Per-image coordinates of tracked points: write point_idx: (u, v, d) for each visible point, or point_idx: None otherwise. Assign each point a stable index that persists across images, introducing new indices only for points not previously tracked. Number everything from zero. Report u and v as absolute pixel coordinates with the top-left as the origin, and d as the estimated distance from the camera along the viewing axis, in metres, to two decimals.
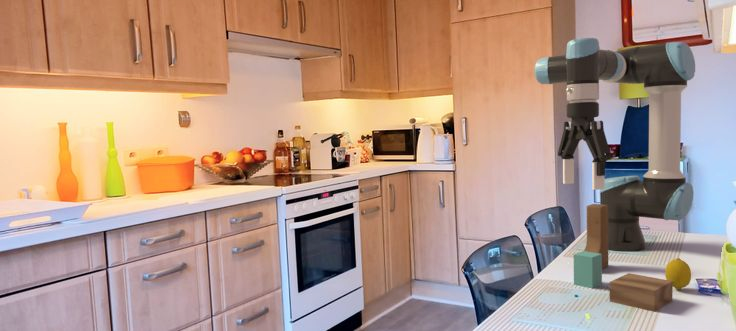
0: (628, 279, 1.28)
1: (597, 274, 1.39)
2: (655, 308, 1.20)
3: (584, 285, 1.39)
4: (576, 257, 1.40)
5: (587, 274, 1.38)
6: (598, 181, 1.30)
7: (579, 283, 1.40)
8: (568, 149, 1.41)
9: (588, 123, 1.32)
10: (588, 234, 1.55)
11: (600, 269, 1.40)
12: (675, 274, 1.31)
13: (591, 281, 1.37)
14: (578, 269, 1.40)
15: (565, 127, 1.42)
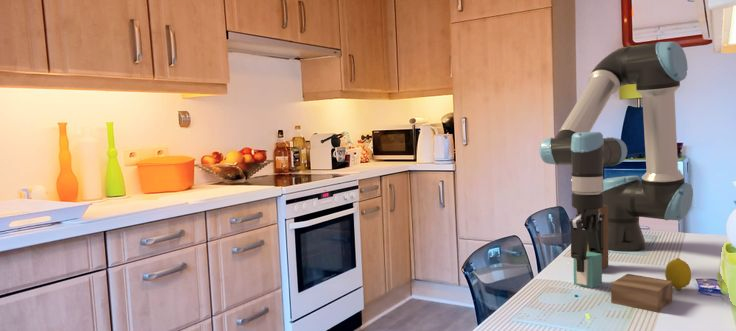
0: (628, 279, 1.28)
1: (597, 273, 1.39)
2: (658, 309, 1.20)
3: (584, 285, 1.39)
4: None
5: None
6: (580, 276, 1.39)
7: None
8: (589, 241, 1.42)
9: (576, 216, 1.37)
10: None
11: (600, 269, 1.40)
12: (675, 274, 1.31)
13: (591, 281, 1.37)
14: None
15: None
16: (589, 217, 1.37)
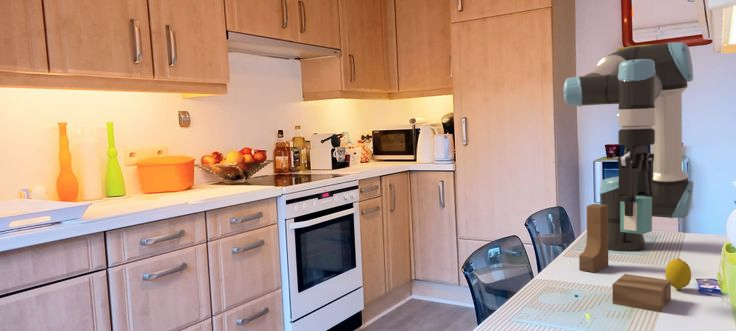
0: (628, 280, 1.28)
1: (647, 218, 1.24)
2: (661, 308, 1.20)
3: (632, 231, 1.24)
4: None
5: None
6: (628, 221, 1.24)
7: None
8: (637, 184, 1.28)
9: (624, 154, 1.23)
10: (588, 234, 1.55)
11: (650, 214, 1.25)
12: (675, 274, 1.31)
13: (641, 226, 1.23)
14: None
15: None
16: (639, 155, 1.23)
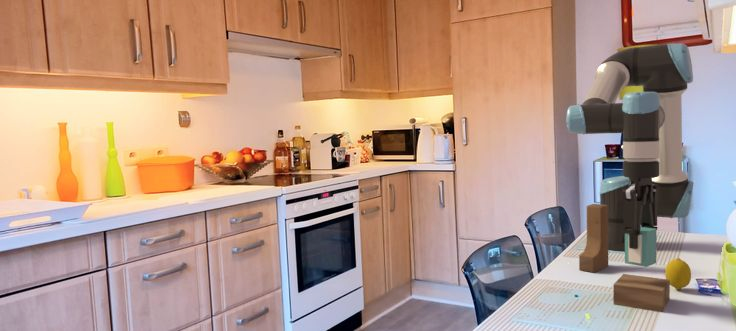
0: (628, 280, 1.27)
1: (651, 251, 1.24)
2: (662, 308, 1.20)
3: (637, 263, 1.24)
4: None
5: None
6: (633, 253, 1.24)
7: None
8: (641, 215, 1.27)
9: (629, 186, 1.23)
10: (588, 234, 1.55)
11: (654, 245, 1.25)
12: (675, 274, 1.31)
13: (646, 259, 1.22)
14: None
15: None
16: (644, 187, 1.22)
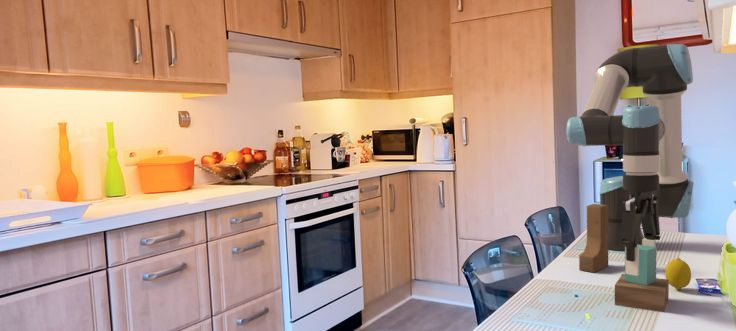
0: None
1: (651, 269, 1.24)
2: (664, 308, 1.20)
3: (637, 281, 1.25)
4: None
5: (641, 269, 1.24)
6: (630, 266, 1.23)
7: (631, 279, 1.25)
8: (643, 226, 1.28)
9: (629, 199, 1.23)
10: (588, 234, 1.55)
11: (654, 264, 1.25)
12: (675, 274, 1.31)
13: (645, 277, 1.23)
14: None
15: None
16: (644, 200, 1.23)
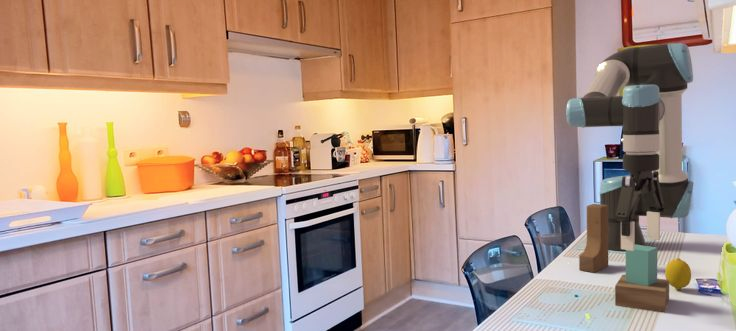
0: None
1: (652, 270, 1.24)
2: (665, 309, 1.19)
3: (638, 282, 1.24)
4: (629, 251, 1.25)
5: (642, 270, 1.23)
6: (625, 241, 1.21)
7: (632, 280, 1.25)
8: (646, 201, 1.29)
9: None
10: (588, 234, 1.55)
11: (655, 264, 1.25)
12: (675, 274, 1.31)
13: (646, 278, 1.23)
14: (631, 264, 1.25)
15: None
16: (644, 179, 1.22)
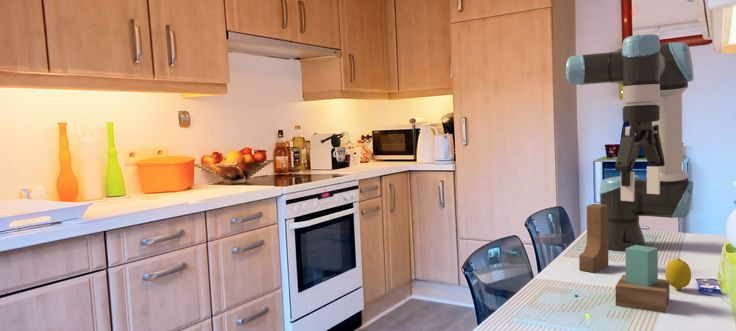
0: None
1: (652, 270, 1.24)
2: (665, 309, 1.19)
3: (638, 283, 1.24)
4: (628, 252, 1.25)
5: (641, 270, 1.23)
6: (625, 192, 1.20)
7: (632, 280, 1.25)
8: (646, 155, 1.28)
9: None
10: (588, 234, 1.55)
11: (656, 265, 1.24)
12: (675, 274, 1.31)
13: (646, 278, 1.22)
14: (630, 265, 1.25)
15: None
16: (644, 130, 1.22)
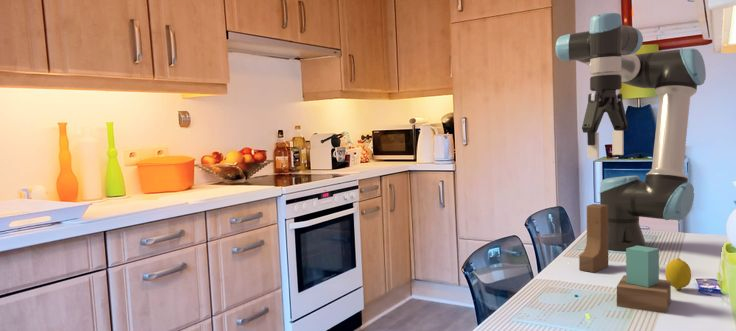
0: None
1: (653, 271, 1.23)
2: (666, 310, 1.19)
3: (638, 283, 1.23)
4: (629, 252, 1.25)
5: (642, 271, 1.22)
6: (591, 150, 1.38)
7: (633, 281, 1.24)
8: (612, 121, 1.46)
9: None
10: (588, 234, 1.55)
11: (657, 266, 1.24)
12: (675, 274, 1.31)
13: (647, 279, 1.22)
14: (631, 265, 1.24)
15: None
16: (608, 97, 1.39)
